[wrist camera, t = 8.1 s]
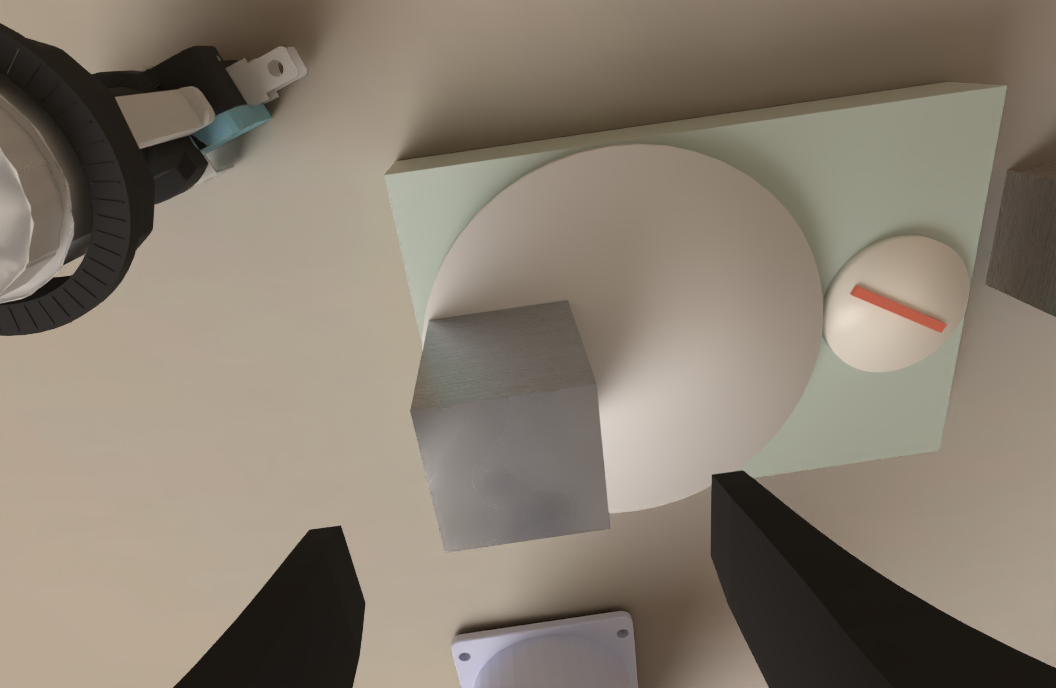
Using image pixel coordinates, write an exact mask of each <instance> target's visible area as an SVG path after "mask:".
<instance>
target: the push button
mask: <svg viewBox="0 0 1056 688" xmlns="http://www.w3.org/2000/svg"><path fill="white" fill-rule="evenodd" d="M279 62H280V63H281V64H282V65H283V69H284V71H283V74H282V73H281V72H280V70H279V67H278V65H279ZM307 73H308V69H307V68H306V66H305V64H304V62H303V61H302V59H301V57H300V55H299V54H298V52H297V50H296V48H294V47H292V46H289V47H288V48H285V47H283V46H279V47H277V48H275V49H274V50H272V51H270V52H268V53H266V54H264V55H263V56H261V57H259V58H254V59H253V60H251V61H249V62H247V61H246V59H245V58H243V59H241V60H240V61H237V60H226V61H223V59H222V57H221V56H220V54H219V53H218V51H217V50H216V48H215V47H214V46H194V47H191V48H188V49H186V50H183V51H182V52H180V53H178V54H176V55H174V56H173V57H171V58H169V59H167V60H165V61H164V62H162V63H160V64H158V65H156V66H155V67H149V68H147V67H145V68H143V69H141V70H140V71H113V72H100V73H96V74H92V75H91V74H90V73H89V72H88V71H87V70H86V69H84V68H83V67H82V66H81V65H80V64H79V63H77V62H76V61H75V60H74V59H73V58H72V57H70V56H69V55H68V54H67V53H66V52H64V51H63V50H61V49H59V48H57V47H55V46H51V45H48V44H45V43H41V42H38V41H35V40H31V39H28V38H25V37H24V36H22V35H21V34H19V33H17V32H15V31H14V30H12V29H10V28H8V27H6V26H4V25H3V24H1V23H0V335H2V336H13V335H27V334H33V333H40V332H44V331H47V330H51V329H55V328H57V327H60V326H63V325H65V324H68V323H70V322H72V321H73V320H75V319H77V318H79V317H81V316H82V315H84V314H86V313H87V312H89V311H90V310H92V309H93V308H94V307H96V306H97V305H99V304H100V303H101V302H103V301H104V300H105V299H106V298H107V297H108V296H109V295H110V294H111V293H112V292H113V291H114V290H115V289H116V288H117V286H118V285H119V284H120V283H121V281H122V280H123V278H124V276H125V275H126V273H127V271H128V270H129V267H130V265H131V263H132V260H133V258H134V255H135V251H136V250H137V248H138V247H139V246H140V245H141V244H142V243H143V241H144V240H145V239H146V238H147V237H148V236H149V234H150V233H151V231H152V229H153V218H154V204H158V203H161V202H163V201H166V200H168V199H170V198H172V197H174V196H177V195H179V194H181V193H183V192H185V191H187V190H188V189H191V188H193V187H195V186H197V185H199V184H201V183H203V182H205V181H207V180H209V179H211V178H213V177H215V176H217V175H219V174H221V173H223V172H225V171H227V170H228V169H230V168H232V167H234V165H233V164H231V165H229V166H227V167H225V168H222V169H220V170H218V171H217V170H216V169H215V168H214V167H213V165H212V164H211V162H210V161H209V159H208V158H207V157H206V155H205V154H207V153H208V152H210V151H212V150H214V149H216V148H218V147H220V146H222V145H223V144H225V143H227V142H229V141H231V140H233V139H235V138H237V137H238V136H240V135H242V134H244V133H246V132H248V131H250V130H252V129H253V128H255V127H257V126H259V125H261V124H263V123H265V122H267V121H268V120H270V119H272V117H271V115H270V113H269V112H268V110H267V109H266V107H265V105H264V104H266V103H268V102H270V101H272V100H274V99H275V98H277V97H279V95H278V93H277V90H279V89H281V88H283V87H285V86H287V85H289V84H290V83H292V82H294V81H296V80H298V79H300V78H302V77H303V76H305V75H307ZM84 254H86V255H85V257H84V259H83V261H82V263H81V264H80V266H79V267H78V269H77V270H76V271H75V273H74V274H73V275H71V276H65V277H54V276H56V275H57V274H58V272H59V271H60V269H61V268H62V266H63V265H65V264H67V263H68V262H70V261H72V260H74V259H76V258H78V257H80V256H82V255H84Z"/></svg>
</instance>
